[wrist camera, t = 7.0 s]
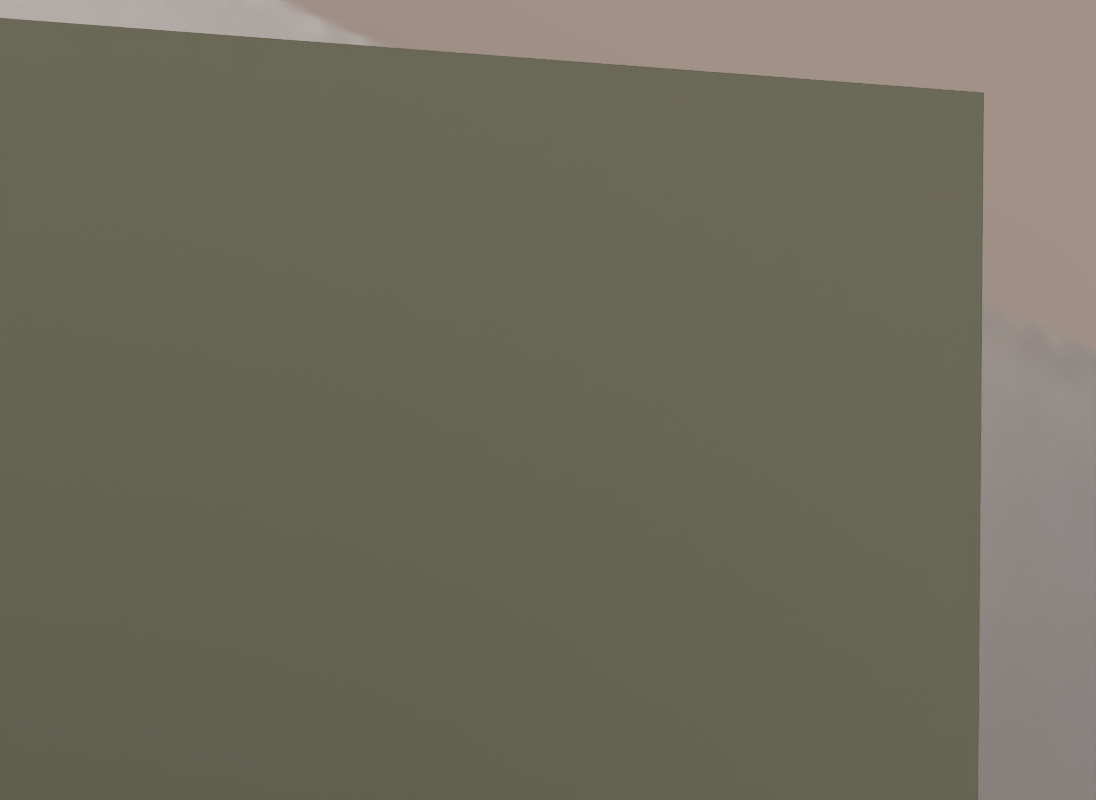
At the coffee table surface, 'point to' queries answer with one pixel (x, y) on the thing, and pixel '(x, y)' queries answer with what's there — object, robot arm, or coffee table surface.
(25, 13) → the coffee table surface
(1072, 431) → the coffee table surface
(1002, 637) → the coffee table surface
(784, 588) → the post
